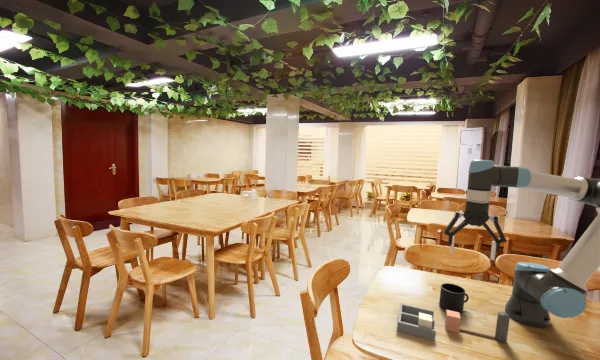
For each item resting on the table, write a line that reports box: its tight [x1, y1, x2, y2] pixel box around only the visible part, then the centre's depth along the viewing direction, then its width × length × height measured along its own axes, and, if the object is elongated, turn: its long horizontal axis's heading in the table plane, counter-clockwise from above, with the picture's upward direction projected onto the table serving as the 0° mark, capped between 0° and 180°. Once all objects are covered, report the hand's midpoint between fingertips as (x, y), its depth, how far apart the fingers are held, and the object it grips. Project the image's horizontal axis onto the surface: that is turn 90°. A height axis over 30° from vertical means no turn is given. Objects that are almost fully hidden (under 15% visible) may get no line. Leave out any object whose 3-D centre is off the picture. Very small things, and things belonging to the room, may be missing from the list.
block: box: [418, 312, 432, 329], centre depth 109 cm, size 4×4×6 cm
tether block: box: [444, 310, 511, 344], centre depth 109 cm, size 20×4×10 cm, turn 68°
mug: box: [438, 282, 470, 314], centre depth 127 cm, size 9×12×9 cm
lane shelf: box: [396, 302, 437, 341], centre depth 114 cm, size 13×15×4 cm
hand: (471, 255), depth 111 cm, fingers open, 13 cm apart
